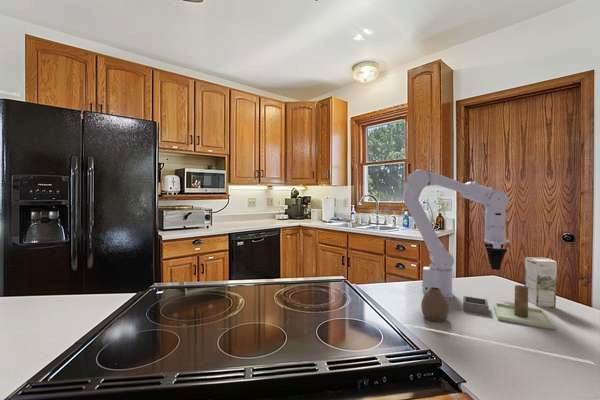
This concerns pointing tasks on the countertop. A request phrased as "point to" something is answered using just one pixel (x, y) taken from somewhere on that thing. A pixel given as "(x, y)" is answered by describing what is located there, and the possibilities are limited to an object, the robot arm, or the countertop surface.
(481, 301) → the square holder
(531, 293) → the syrup box
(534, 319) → the tray
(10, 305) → the countertop surface
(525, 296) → the dowel
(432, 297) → the vase
